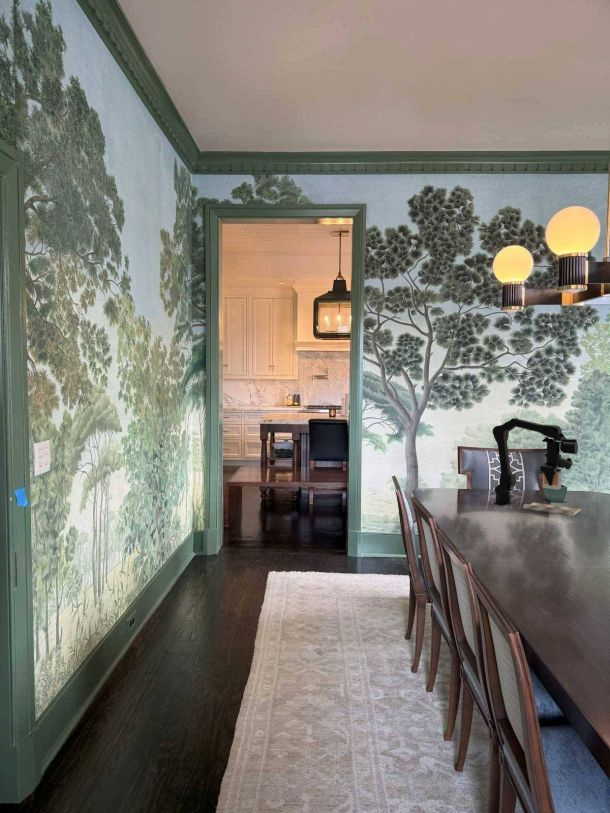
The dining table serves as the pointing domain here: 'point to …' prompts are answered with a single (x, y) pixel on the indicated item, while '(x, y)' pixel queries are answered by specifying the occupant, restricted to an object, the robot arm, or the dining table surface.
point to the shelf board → (551, 509)
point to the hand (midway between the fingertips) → (551, 484)
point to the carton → (556, 481)
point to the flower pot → (555, 494)
